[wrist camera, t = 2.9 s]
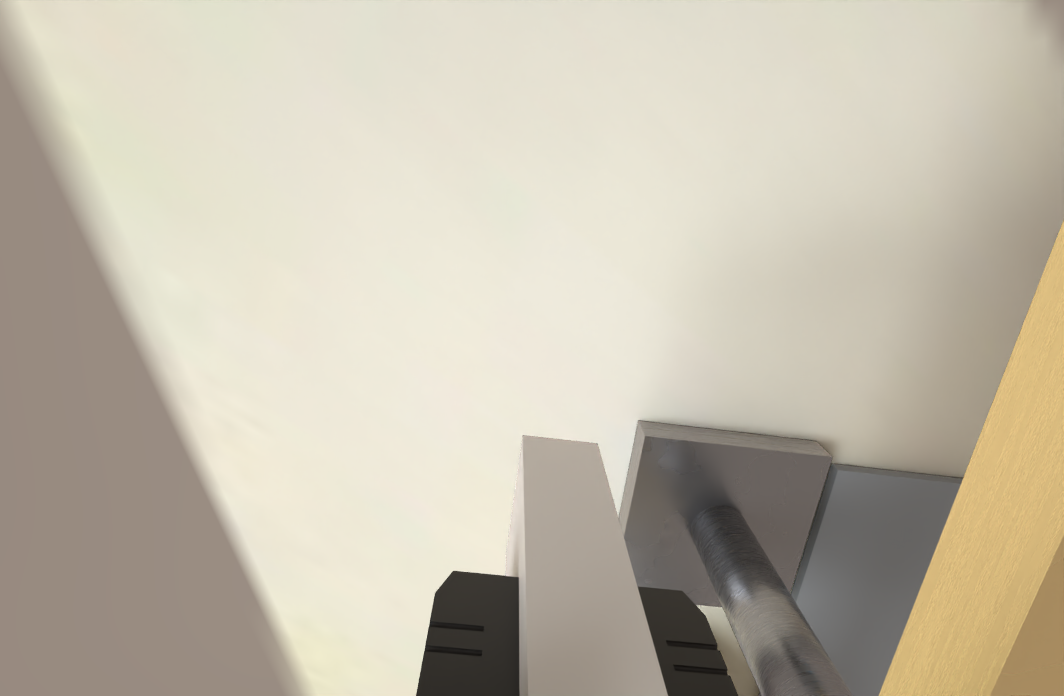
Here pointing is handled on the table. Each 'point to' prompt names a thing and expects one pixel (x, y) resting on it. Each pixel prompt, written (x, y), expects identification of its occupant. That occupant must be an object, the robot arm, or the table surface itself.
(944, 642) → the lever
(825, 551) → the felt mat
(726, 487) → the lever post
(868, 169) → the table surface
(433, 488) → the table surface
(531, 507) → the robot arm
